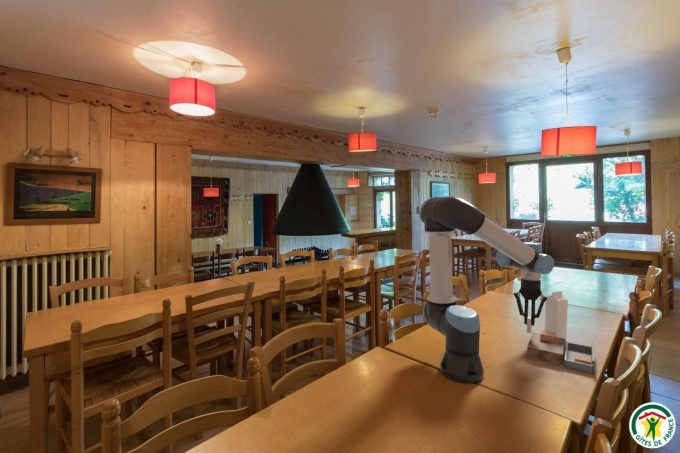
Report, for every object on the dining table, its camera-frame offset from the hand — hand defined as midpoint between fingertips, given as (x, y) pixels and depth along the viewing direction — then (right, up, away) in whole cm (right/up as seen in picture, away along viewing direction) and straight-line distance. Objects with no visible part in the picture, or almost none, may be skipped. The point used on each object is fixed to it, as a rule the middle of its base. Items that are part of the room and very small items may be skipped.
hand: (529, 332), depth 146 cm
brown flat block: (+3, -7, -7) cm, 10 cm away
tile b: (+6, -2, -4) cm, 7 cm away
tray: (+12, -7, -14) cm, 19 cm away
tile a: (+10, -4, -18) cm, 21 cm away
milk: (+16, -6, +7) cm, 18 cm away
